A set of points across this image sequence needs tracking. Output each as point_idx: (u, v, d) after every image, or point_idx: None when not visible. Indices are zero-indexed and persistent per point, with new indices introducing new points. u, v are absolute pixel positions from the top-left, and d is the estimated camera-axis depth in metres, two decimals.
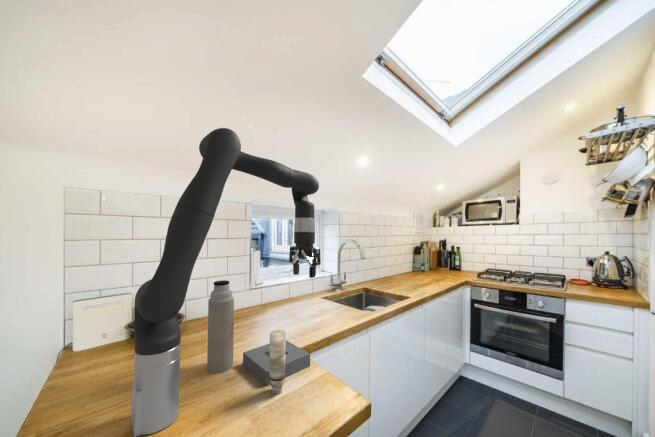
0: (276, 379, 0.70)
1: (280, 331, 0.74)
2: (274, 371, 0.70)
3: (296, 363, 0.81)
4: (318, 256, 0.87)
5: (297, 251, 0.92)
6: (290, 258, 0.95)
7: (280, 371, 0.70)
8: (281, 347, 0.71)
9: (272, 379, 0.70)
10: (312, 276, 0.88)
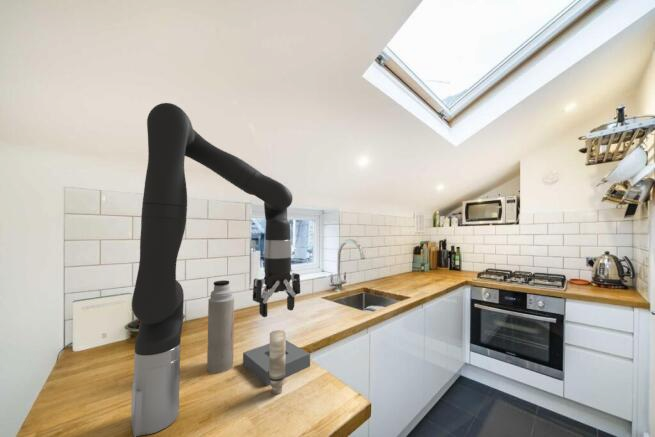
0: (276, 379, 0.70)
1: (280, 331, 0.74)
2: (274, 371, 0.70)
3: (296, 363, 0.81)
4: None
5: (276, 283, 0.71)
6: (259, 297, 0.68)
7: (280, 371, 0.70)
8: (281, 347, 0.71)
9: (272, 379, 0.70)
10: None
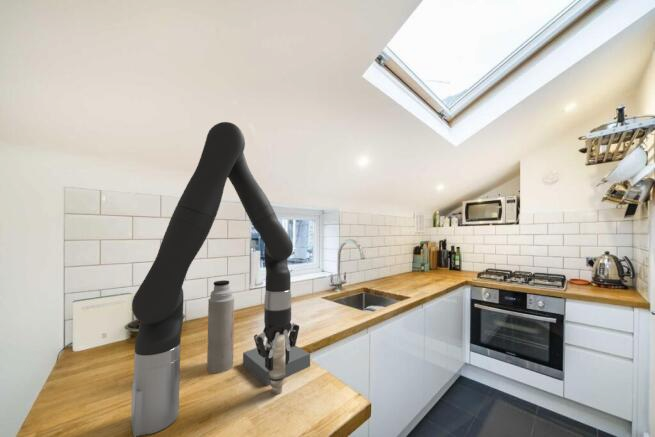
0: (276, 379, 0.70)
1: None
2: (274, 371, 0.70)
3: (296, 363, 0.81)
4: None
5: (277, 335, 0.70)
6: (264, 352, 0.68)
7: (280, 371, 0.70)
8: (281, 347, 0.71)
9: (272, 379, 0.70)
10: None
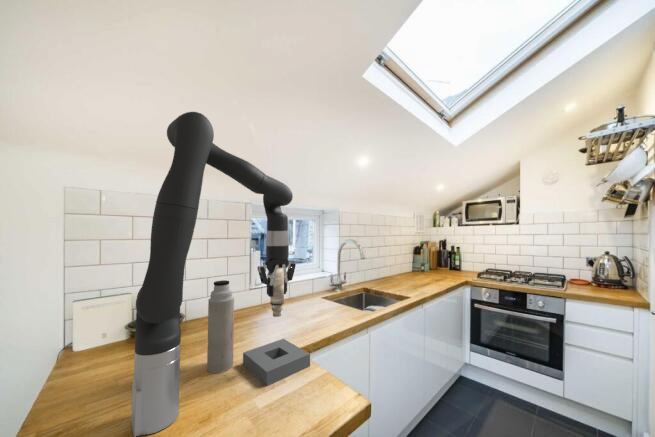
0: (276, 303, 0.84)
1: None
2: (274, 297, 0.84)
3: (296, 363, 0.81)
4: None
5: (276, 267, 0.84)
6: (266, 280, 0.82)
7: (279, 297, 0.84)
8: (280, 278, 0.85)
9: (273, 304, 0.84)
10: (284, 292, 0.88)
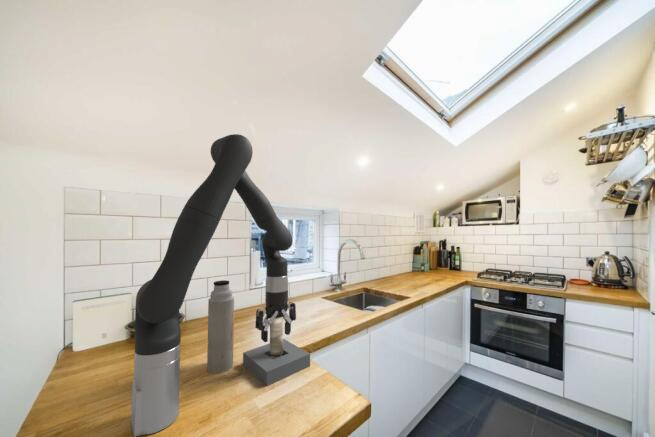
0: (275, 355, 0.83)
1: None
2: (273, 348, 0.83)
3: (296, 363, 0.81)
4: None
5: (276, 313, 0.84)
6: (261, 325, 0.81)
7: (279, 348, 0.84)
8: (279, 328, 0.84)
9: (272, 355, 0.83)
10: None
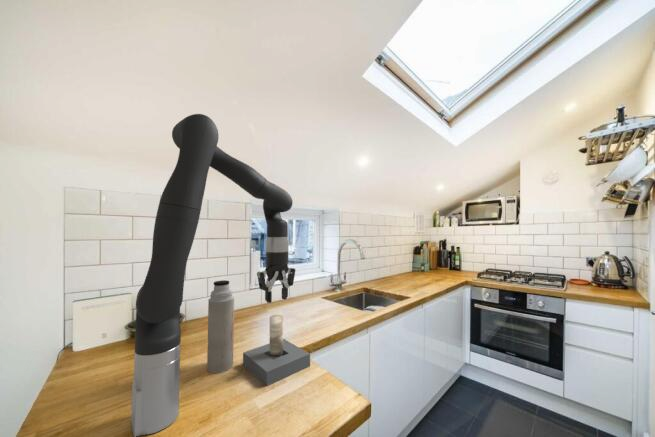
0: (275, 355, 0.83)
1: (278, 315, 0.87)
2: (273, 348, 0.83)
3: (296, 363, 0.81)
4: None
5: (276, 273, 0.84)
6: (264, 286, 0.82)
7: (279, 348, 0.84)
8: (279, 328, 0.84)
9: (272, 355, 0.83)
10: None
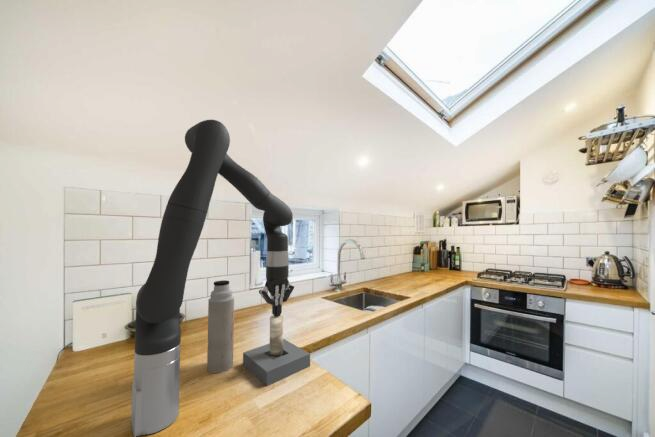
0: (275, 355, 0.83)
1: None
2: (273, 348, 0.83)
3: (296, 363, 0.81)
4: None
5: (276, 288, 0.84)
6: (270, 301, 0.83)
7: (279, 348, 0.84)
8: (279, 328, 0.84)
9: (272, 355, 0.83)
10: None
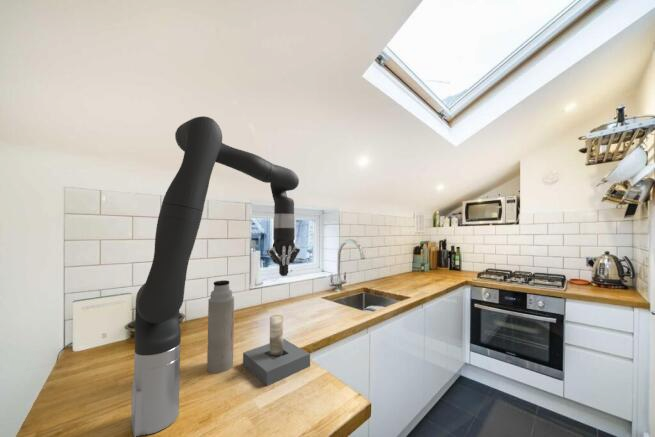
0: (275, 355, 0.83)
1: (279, 315, 0.87)
2: (273, 348, 0.83)
3: (296, 363, 0.81)
4: None
5: (283, 248, 0.89)
6: (278, 260, 0.88)
7: (279, 348, 0.84)
8: (279, 328, 0.84)
9: (272, 355, 0.83)
10: None
